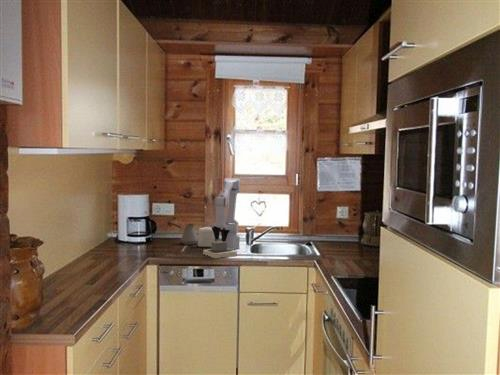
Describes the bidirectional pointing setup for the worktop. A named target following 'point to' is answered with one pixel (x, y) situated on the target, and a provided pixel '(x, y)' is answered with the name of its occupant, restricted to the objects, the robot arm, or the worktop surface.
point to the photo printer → (205, 237)
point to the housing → (218, 246)
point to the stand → (220, 253)
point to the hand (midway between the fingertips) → (220, 240)
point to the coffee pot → (188, 234)
